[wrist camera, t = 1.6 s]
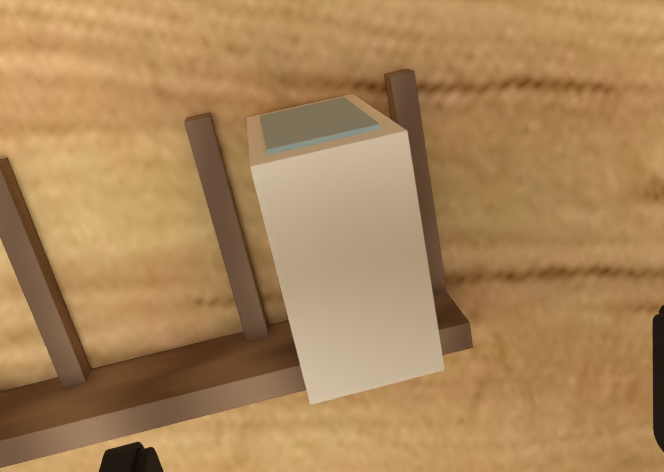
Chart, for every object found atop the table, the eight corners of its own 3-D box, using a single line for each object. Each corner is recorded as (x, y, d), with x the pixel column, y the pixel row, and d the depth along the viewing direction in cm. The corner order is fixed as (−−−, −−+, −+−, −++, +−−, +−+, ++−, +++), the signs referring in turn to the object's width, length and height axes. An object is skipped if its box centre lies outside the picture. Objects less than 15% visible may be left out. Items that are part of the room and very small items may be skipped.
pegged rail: (407, 69, 26) (436, 77, 22) (443, 305, 30) (472, 347, 26) (-234, 211, 24) (-322, 247, 20) (-106, 442, 28) (-159, 508, 24)
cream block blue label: (351, 89, 26) (406, 125, 17) (384, 266, 29) (445, 370, 20) (245, 113, 25) (248, 161, 17) (289, 289, 28) (310, 404, 20)
